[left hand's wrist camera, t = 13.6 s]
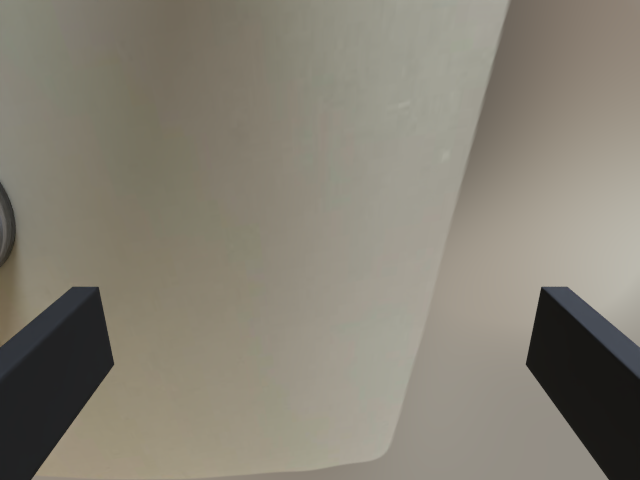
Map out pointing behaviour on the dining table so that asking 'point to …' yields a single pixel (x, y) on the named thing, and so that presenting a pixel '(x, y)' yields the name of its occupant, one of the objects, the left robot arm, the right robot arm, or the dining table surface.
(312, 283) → the dining table surface
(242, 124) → the dining table surface
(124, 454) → the dining table surface
